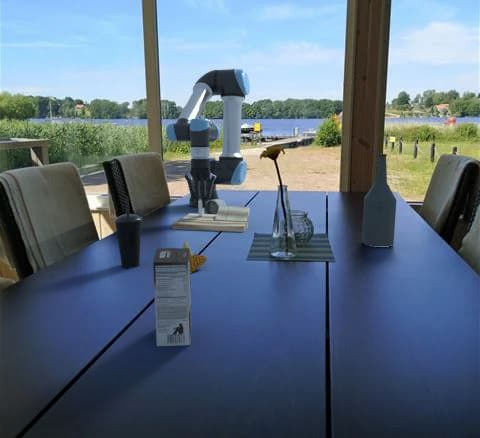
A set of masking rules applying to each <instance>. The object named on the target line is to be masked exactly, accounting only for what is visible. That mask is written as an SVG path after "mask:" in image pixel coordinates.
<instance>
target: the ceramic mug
mask: <svg viewBox="0 0 480 438" xmlns="http://www.w3.org/2000/svg"><path fill="white" fill-rule="evenodd" d="M219 206H228V204H227V203H226V202H225V200H223V199H220V198H219V199H215V200H209V201H207V202H206V208H204V214H217V212H218V209H219Z"/></svg>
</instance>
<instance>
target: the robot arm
mask: <svg viewBox="0 0 480 438" xmlns="http://www.w3.org/2000/svg"><path fill="white" fill-rule="evenodd" d="M250 89H251V88H250V80H249V77H248V74H247V72H246V70H245V69H243V68H241V69H240V68H231V69H229V68H228V69H213V70H210V71H208V72H206V73H204V74H203V75H201V76H200V77H199V78H198V80H196V81H195V82H194V85H193V86H192V92H191V95H190V96H189V99H188V100H187V102H186V104H185V106H184V107H183V109H182V111H181V113H180V115H179V117H178V118H177V120H176V121H175V123H174V122H172V123H169V124H167V126H166V129H165V130H166V131H165V134H166V138H167V140H169V142H178V143H183V142H186V143H190V157H191V159H190V171H189V173H188V174H185V175H184V179H185V181H186V183H187V186H188V190H189V195H190V196H189V199H188V200H189V201H188V205H189V207H192V208H196V209H198V210H197V211H198V214H199V216H201V217H202V216H204V208H206V202H207V201H209V200H215V199H220V197H219V195H218V192H217V186H218V185H219V186H240V185H243V183H244V182H245V180H246V177H247V171H248V165H247V162H246V161H245V160H244V156H243V155H242V154H241V141H242V139H241V137H242V135H241V134H242V107H243V102H244V101H245V100H246V96H248V95H249V94H250ZM214 96H220V100H221V101H222V102H223V111H222V112H223V113H222V114H223V116H222V117H223V119H222V148H221V154H220V155H219V156H218V160H217V159H216V157H210V155H211V154H210V153H211V152H210V143H213V142H216V141H217V140H219V139H220V137H221V129H220V127H219V126H218V125H217V124H215V123H210V121H209V119H208V118H203V117H201V118H200V116H201V114H202V112H203V110H204V108H205V106H206V104H207V102H208V101H210V100H211V99H212V97H214Z"/></svg>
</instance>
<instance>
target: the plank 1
mask: <svg viewBox="0 0 480 438" xmlns="http://www.w3.org/2000/svg"><path fill="white" fill-rule="evenodd" d="M216 215H217V214H204V216H202V217H201V216H199V213H189V212H188V214H186V215H185V216H184V217H183V218H182V219H198V220H215V218H216Z"/></svg>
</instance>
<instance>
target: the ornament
mask: <svg viewBox="0 0 480 438" xmlns="http://www.w3.org/2000/svg"><path fill="white" fill-rule="evenodd" d="M182 245H183V247H182V248H189V254H190V275H191V274H192V273H193V272H195V271H196V270H198V269H199V268H200V267H201V266H202V265H204V264H206V263H207V260H208V258H207V256H206V255H202V254H197V253H192V249H191V246H189V242H188V241H184V242H183V243H182Z"/></svg>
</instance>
